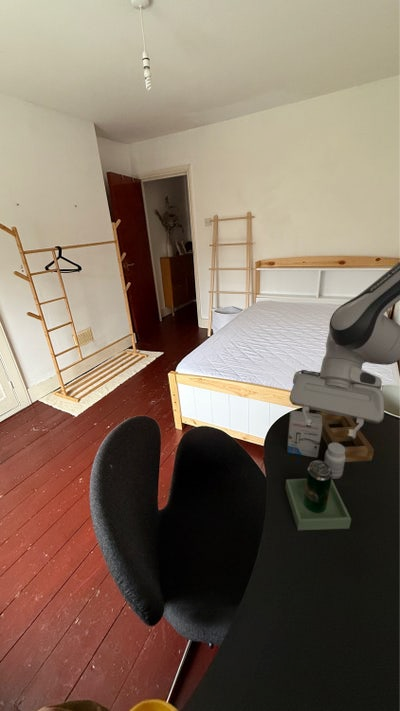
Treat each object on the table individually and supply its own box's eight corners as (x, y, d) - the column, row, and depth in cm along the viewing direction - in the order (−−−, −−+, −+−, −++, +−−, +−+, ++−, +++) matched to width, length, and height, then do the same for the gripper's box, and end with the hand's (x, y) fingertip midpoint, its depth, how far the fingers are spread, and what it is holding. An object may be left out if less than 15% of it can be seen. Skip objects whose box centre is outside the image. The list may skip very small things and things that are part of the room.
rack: (344, 420, 97) (345, 410, 96) (371, 460, 81) (374, 449, 80) (314, 421, 98) (315, 411, 96) (336, 462, 82) (338, 451, 80)
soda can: (299, 500, 72) (303, 463, 66) (316, 492, 73) (321, 456, 68) (313, 518, 67) (318, 480, 62) (331, 509, 69) (338, 472, 63)
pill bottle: (346, 475, 78) (351, 451, 74) (332, 481, 76) (336, 457, 73) (332, 462, 82) (336, 439, 78) (319, 468, 80) (322, 444, 77)
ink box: (286, 452, 86) (289, 420, 81) (287, 441, 90) (290, 409, 85) (318, 458, 84) (322, 425, 78) (318, 446, 88) (322, 414, 83)
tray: (329, 486, 75) (331, 477, 74) (349, 528, 65) (351, 519, 64) (285, 487, 76) (285, 479, 74) (297, 530, 66) (298, 521, 64)
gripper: (294, 364, 74) (281, 418, 71) (389, 380, 64) (380, 443, 61) (297, 372, 79) (285, 422, 76) (386, 387, 70) (377, 446, 66)
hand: (328, 432), depth 68 cm, fingers open, 8 cm apart
